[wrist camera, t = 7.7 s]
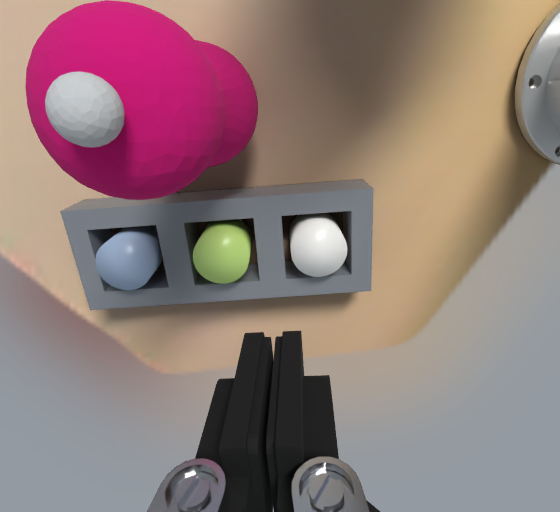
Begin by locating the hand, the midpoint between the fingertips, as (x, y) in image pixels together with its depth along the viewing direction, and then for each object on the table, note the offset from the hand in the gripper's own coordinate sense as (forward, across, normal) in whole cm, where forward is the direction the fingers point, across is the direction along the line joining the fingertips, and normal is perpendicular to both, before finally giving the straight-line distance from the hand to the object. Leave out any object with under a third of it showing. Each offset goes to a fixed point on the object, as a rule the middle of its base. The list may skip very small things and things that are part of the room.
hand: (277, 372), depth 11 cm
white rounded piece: (+20, -2, +3) cm, 20 cm away
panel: (+20, +5, +3) cm, 21 cm away
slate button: (+19, +12, +3) cm, 23 cm away
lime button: (+19, +5, +3) cm, 20 cm away
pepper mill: (+20, +5, -7) cm, 22 cm away
